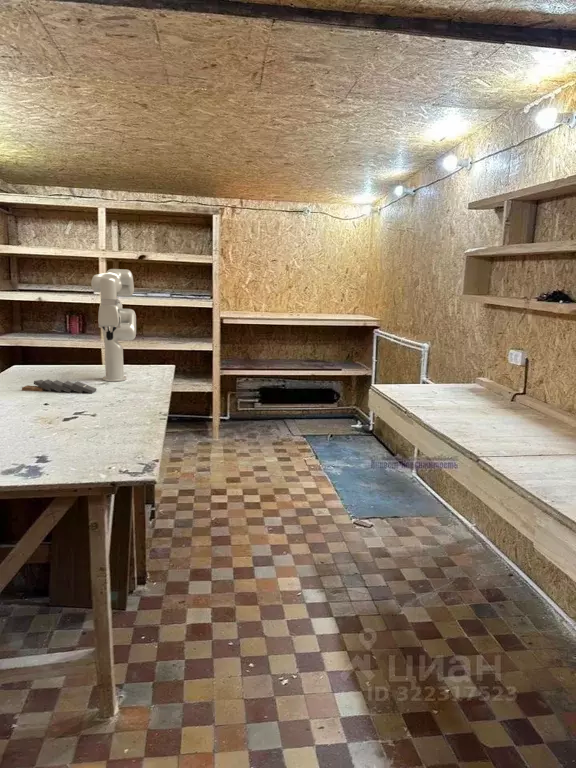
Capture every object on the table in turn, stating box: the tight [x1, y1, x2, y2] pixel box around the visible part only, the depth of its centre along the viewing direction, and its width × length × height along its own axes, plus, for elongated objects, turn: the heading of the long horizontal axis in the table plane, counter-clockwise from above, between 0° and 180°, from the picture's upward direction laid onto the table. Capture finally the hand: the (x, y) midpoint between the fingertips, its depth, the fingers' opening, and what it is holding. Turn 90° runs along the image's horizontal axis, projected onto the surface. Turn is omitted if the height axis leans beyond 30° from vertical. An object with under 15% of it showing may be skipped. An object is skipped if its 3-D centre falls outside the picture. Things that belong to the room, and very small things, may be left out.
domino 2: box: [33, 379, 55, 392], centre depth 253 cm, size 2×5×10 cm
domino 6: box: [72, 381, 97, 395], centre depth 251 cm, size 2×5×10 cm
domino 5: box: [62, 380, 86, 394], centre depth 251 cm, size 2×5×10 cm
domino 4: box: [51, 379, 75, 394], centre depth 251 cm, size 2×5×10 cm
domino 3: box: [42, 379, 65, 393], centre depth 251 cm, size 2×5×10 cm
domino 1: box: [21, 385, 47, 392], centre depth 252 cm, size 2×5×10 cm
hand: (110, 339), depth 256 cm, fingers closed
